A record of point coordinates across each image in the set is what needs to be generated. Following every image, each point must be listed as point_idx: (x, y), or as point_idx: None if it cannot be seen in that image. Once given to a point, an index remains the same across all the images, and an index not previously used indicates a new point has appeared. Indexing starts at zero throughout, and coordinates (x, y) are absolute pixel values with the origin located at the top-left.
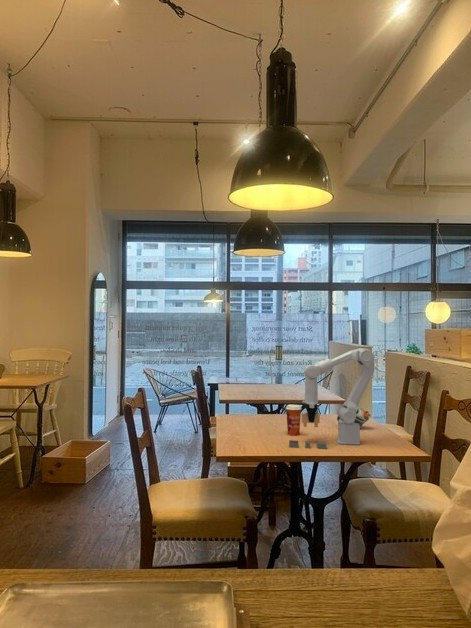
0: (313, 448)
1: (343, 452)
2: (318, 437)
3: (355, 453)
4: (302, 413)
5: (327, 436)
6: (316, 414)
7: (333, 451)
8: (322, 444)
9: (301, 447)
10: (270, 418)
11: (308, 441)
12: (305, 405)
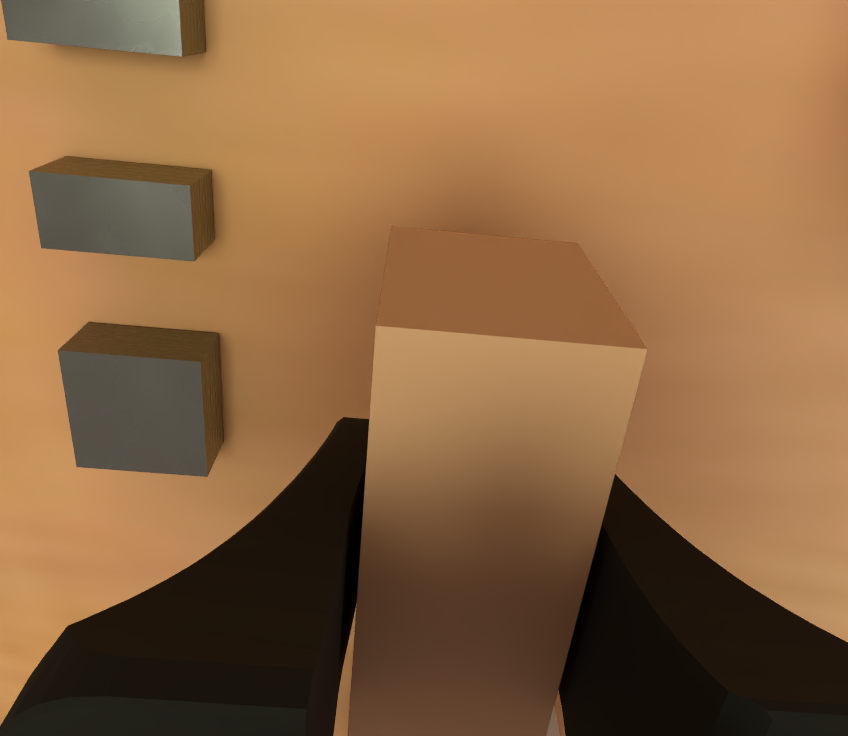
0: (80, 274)
1: (9, 573)
2: (709, 421)
3: (13, 661)
4: (464, 358)
5: (750, 532)
6: (351, 722)
7: (14, 488)
8: (73, 416)
9: (83, 94)
10: None
11: (170, 238)
12: (760, 724)
